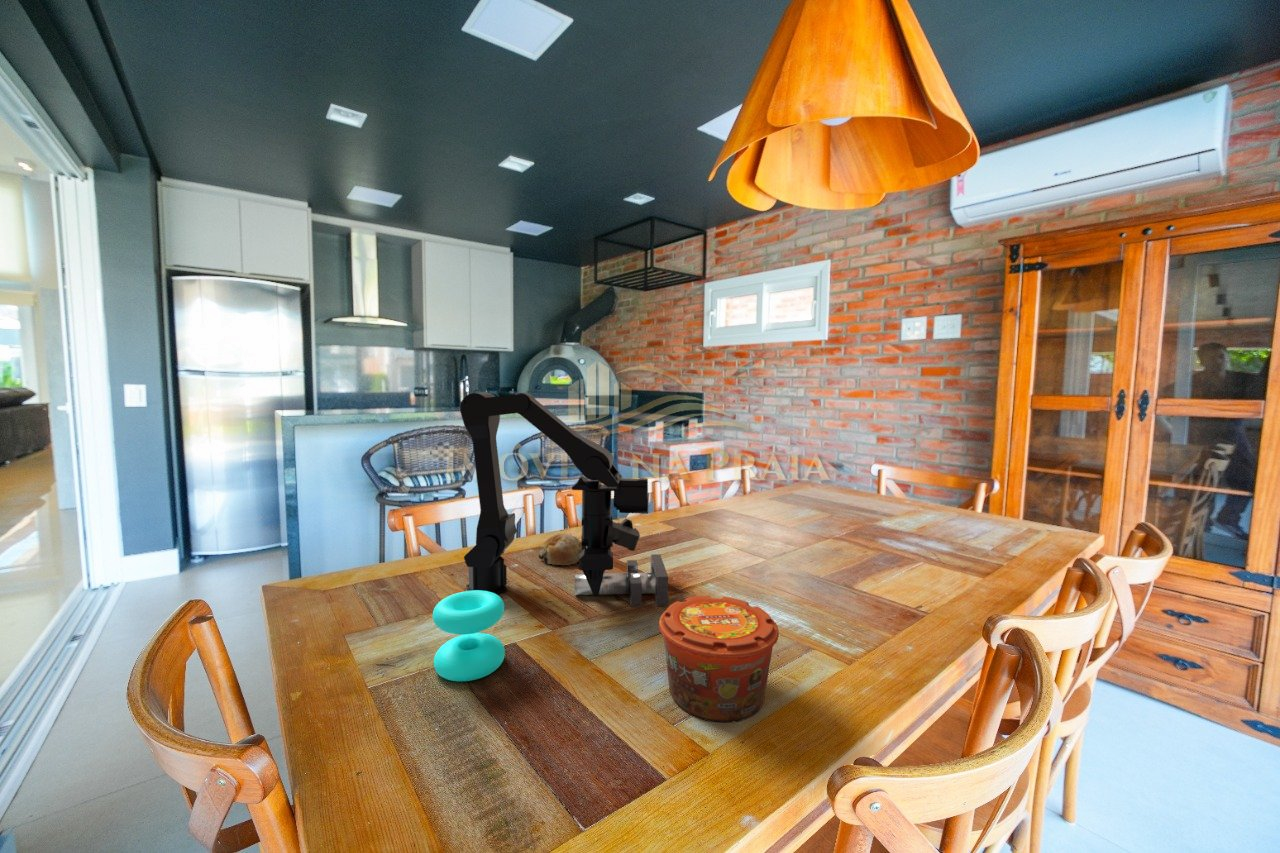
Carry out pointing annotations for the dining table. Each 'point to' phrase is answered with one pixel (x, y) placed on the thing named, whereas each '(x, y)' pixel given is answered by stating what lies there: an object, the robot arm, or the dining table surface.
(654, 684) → the dining table surface
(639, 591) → the cradle collar
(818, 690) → the dining table surface
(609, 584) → the tube
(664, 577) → the gray bridge arch
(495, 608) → the donuts
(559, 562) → the bread roll
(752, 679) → the food container
